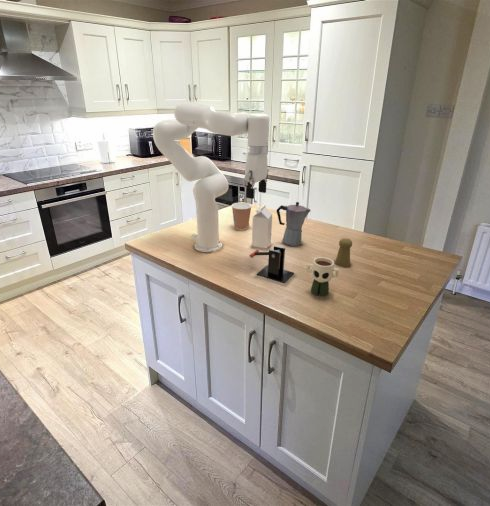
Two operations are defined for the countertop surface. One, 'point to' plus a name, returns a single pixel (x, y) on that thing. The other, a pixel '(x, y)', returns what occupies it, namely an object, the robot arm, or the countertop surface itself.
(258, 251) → the switch lever
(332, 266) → the character mug
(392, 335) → the countertop surface
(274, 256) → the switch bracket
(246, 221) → the coffee cup
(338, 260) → the olive pepper mill
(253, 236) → the milk carton
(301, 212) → the moka pot
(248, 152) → the robot arm
